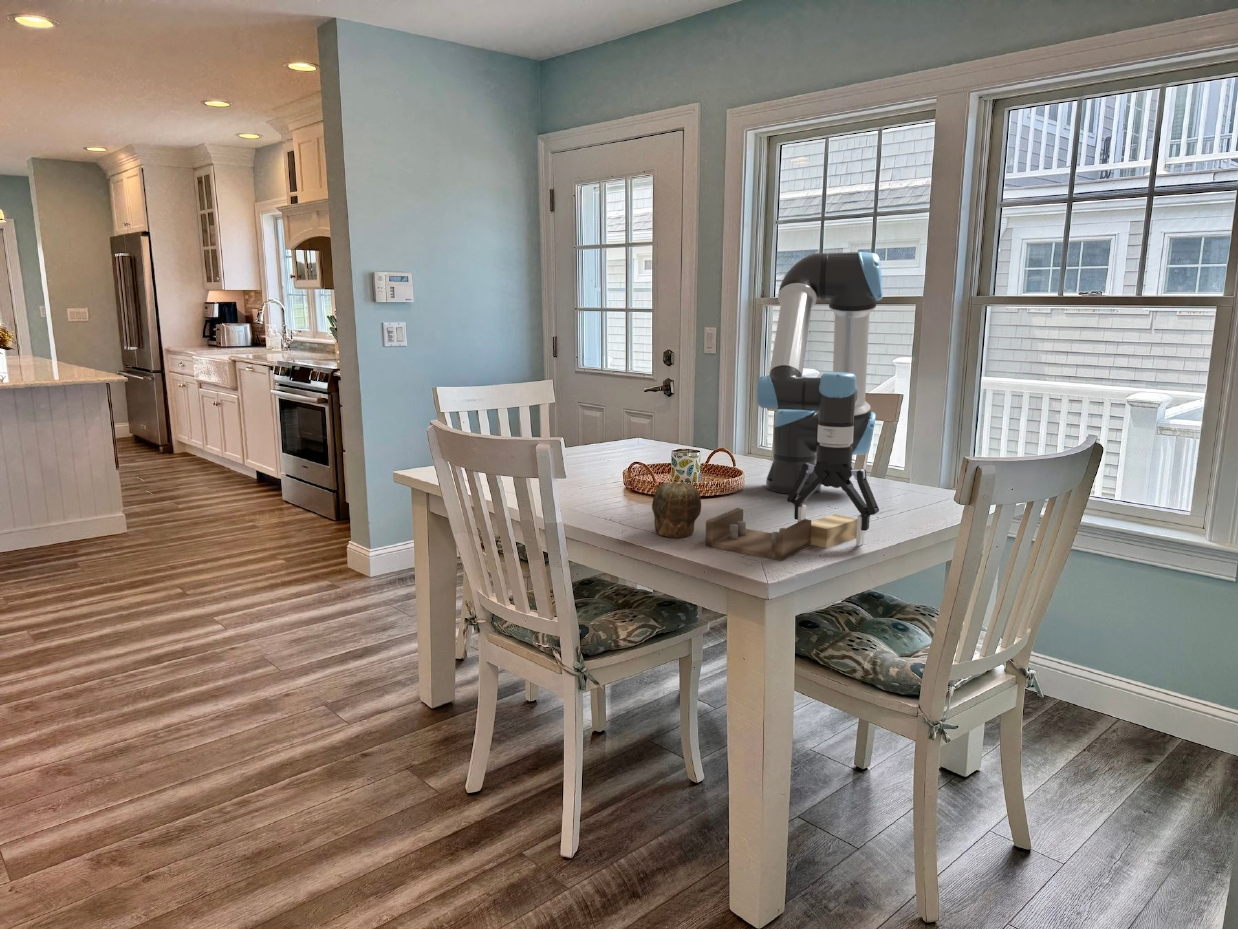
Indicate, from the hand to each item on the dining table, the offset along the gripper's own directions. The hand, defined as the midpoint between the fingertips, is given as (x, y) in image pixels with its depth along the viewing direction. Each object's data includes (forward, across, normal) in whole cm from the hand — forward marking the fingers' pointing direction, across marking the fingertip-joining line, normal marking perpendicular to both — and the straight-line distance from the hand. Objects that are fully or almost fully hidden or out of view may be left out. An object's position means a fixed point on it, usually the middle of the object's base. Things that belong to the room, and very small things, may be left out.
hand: (829, 539), depth 184 cm
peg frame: (0, -11, -13) cm, 17 cm away
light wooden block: (0, 0, 0) cm, 1 cm away
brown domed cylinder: (0, -30, -16) cm, 34 cm away
